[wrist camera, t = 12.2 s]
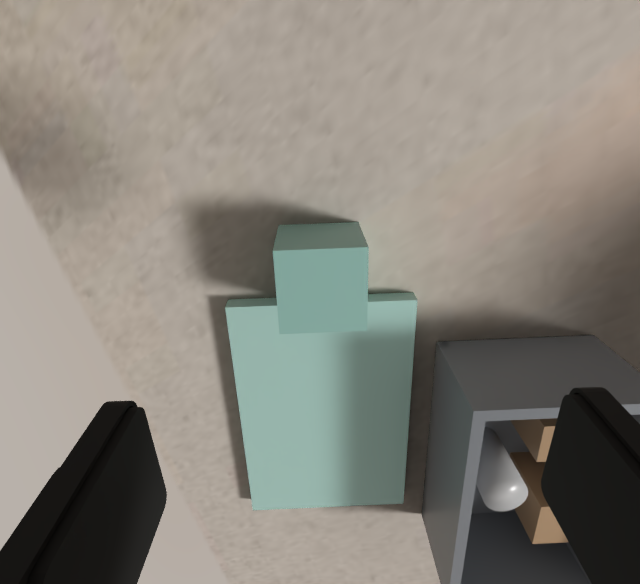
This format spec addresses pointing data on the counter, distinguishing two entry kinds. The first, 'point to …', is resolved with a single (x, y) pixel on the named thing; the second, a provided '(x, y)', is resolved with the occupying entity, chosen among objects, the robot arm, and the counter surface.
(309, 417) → the mint slab with cube
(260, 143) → the counter surface
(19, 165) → the counter surface
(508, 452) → the tub
